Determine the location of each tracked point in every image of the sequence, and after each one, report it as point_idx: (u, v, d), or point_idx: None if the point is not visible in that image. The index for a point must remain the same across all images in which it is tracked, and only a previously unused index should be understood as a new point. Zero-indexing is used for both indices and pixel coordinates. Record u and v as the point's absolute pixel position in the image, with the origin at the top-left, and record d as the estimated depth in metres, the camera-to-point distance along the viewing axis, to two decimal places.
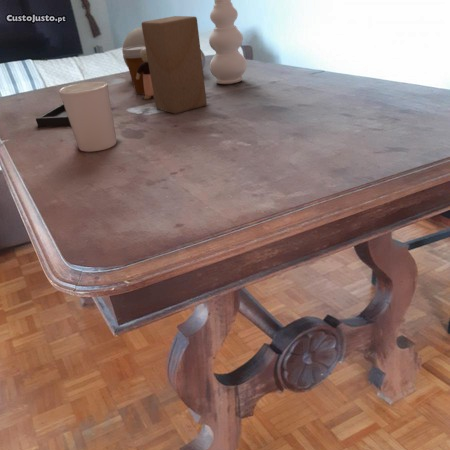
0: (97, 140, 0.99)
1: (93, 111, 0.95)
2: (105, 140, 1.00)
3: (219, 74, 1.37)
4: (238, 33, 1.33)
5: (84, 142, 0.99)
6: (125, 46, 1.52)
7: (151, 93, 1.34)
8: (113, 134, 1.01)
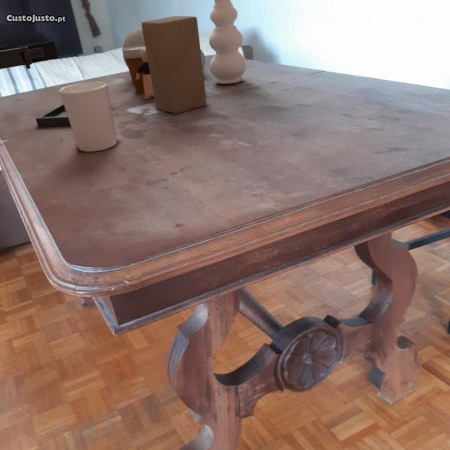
0: (97, 140, 0.99)
1: (93, 111, 0.95)
2: (105, 140, 1.00)
3: (219, 74, 1.37)
4: (238, 33, 1.33)
5: (84, 142, 0.99)
6: (125, 46, 1.52)
7: (151, 93, 1.34)
8: (113, 134, 1.01)
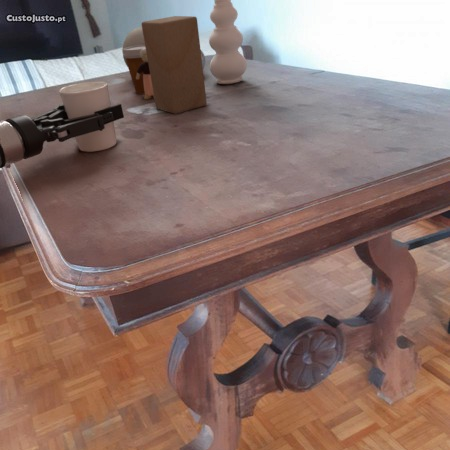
0: (97, 140, 0.99)
1: (93, 111, 0.95)
2: (105, 140, 1.00)
3: (219, 74, 1.37)
4: (238, 33, 1.33)
5: (84, 142, 0.99)
6: (125, 46, 1.52)
7: (151, 93, 1.34)
8: (113, 134, 1.01)
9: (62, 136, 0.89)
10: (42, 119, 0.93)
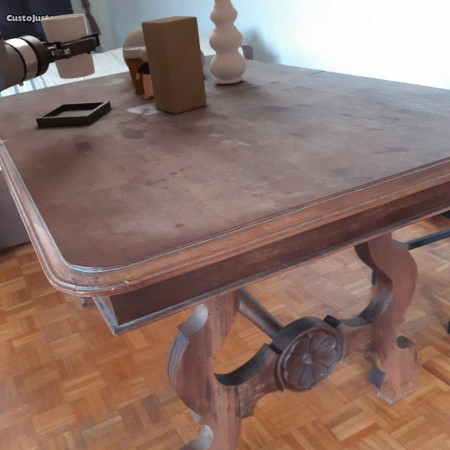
0: (83, 65, 1.08)
1: (79, 36, 1.05)
2: (89, 66, 1.09)
3: (219, 74, 1.37)
4: (238, 33, 1.33)
5: (71, 68, 1.08)
6: (125, 46, 1.52)
7: (151, 93, 1.34)
8: (93, 62, 1.11)
9: (68, 53, 0.98)
10: None
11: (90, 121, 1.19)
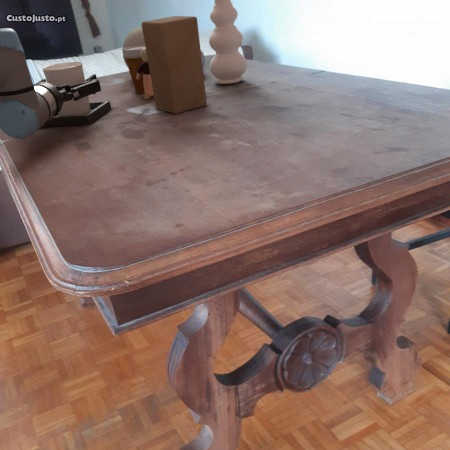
0: (83, 107, 1.22)
1: (80, 82, 1.19)
2: (88, 107, 1.23)
3: (219, 74, 1.37)
4: (238, 33, 1.33)
5: (73, 110, 1.21)
6: (125, 46, 1.52)
7: (151, 93, 1.34)
8: (89, 103, 1.25)
9: (77, 96, 1.10)
10: None
11: (90, 121, 1.19)
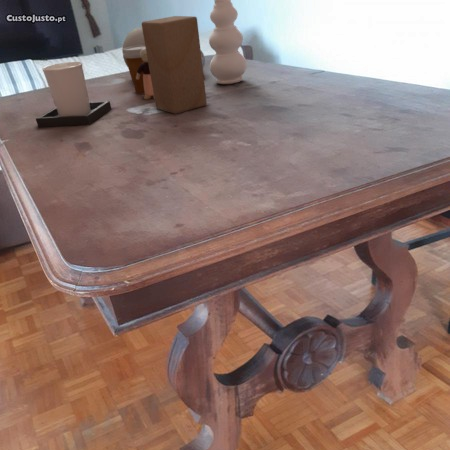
0: (83, 107, 1.22)
1: (80, 82, 1.19)
2: (88, 107, 1.23)
3: (219, 74, 1.37)
4: (238, 33, 1.33)
5: (73, 110, 1.21)
6: (125, 46, 1.52)
7: (151, 93, 1.34)
8: (89, 103, 1.25)
9: None
10: None
11: (90, 121, 1.19)
